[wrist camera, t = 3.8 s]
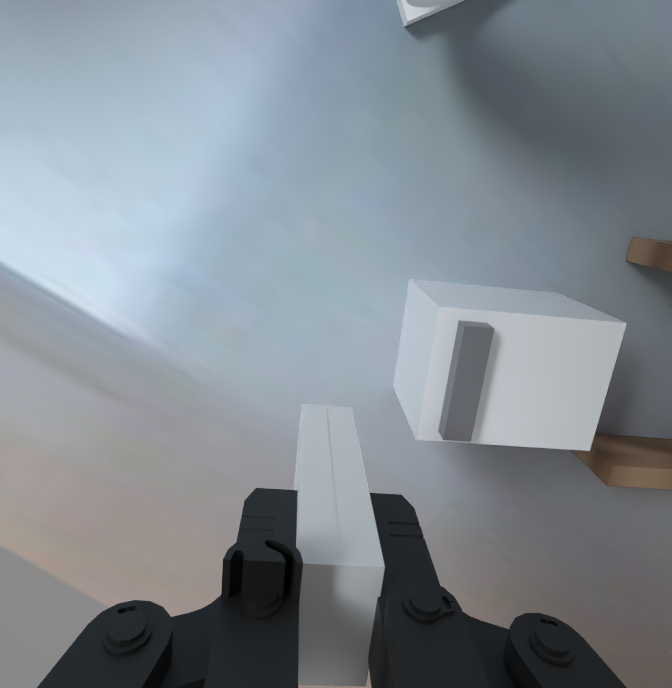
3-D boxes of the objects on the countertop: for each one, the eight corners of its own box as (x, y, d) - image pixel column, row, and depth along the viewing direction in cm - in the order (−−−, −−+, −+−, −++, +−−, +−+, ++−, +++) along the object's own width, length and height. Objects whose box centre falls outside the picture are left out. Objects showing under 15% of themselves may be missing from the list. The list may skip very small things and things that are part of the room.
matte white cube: (392, 386, 27) (420, 449, 21) (409, 278, 26) (444, 311, 19) (532, 396, 28) (599, 460, 22) (557, 292, 26) (639, 328, 20)
